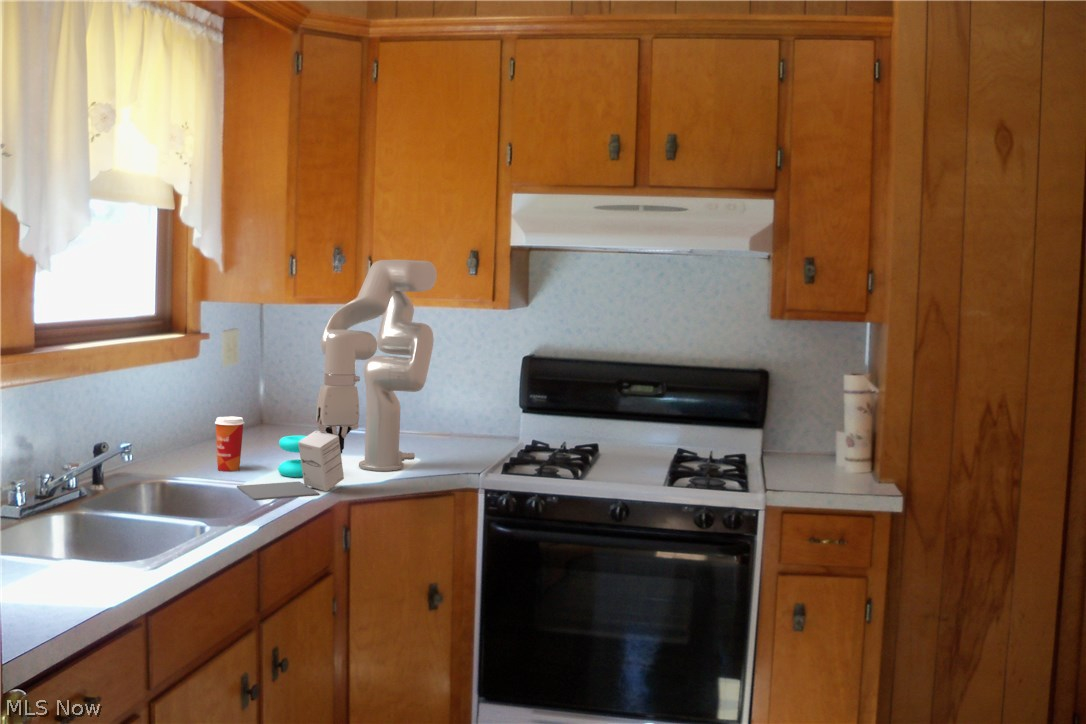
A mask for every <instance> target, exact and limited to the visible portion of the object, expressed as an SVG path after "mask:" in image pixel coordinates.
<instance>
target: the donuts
mask: <svg viewBox="0 0 1086 724" xmlns="http://www.w3.org/2000/svg"><path fill="white" fill-rule="evenodd" d="M306 436H307V435H302V434H301V435H299V434H298V435H295V434H294V435H286V436H283V437H281V438H280V439H279V441H278V445H279V447H280V449H282V450H283V451H285V452H288V453H289V452H290V453H299V454H300V451H299V444H298V442H299V441H300V440H302V439H303V438H305V437H306ZM277 470H278V473H279V474H280V475H281V476H284V477H288V478H303V472H302V465H301V459H288V460H285V461H283V462H281V463H280V464H279V466H278V469H277Z"/></svg>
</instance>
